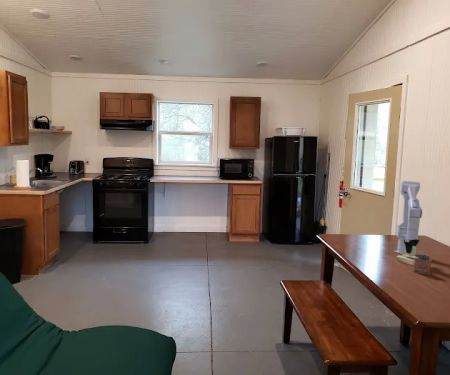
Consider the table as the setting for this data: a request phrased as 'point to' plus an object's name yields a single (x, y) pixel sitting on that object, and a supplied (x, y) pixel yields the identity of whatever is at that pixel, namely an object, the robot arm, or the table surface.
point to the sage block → (411, 251)
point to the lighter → (422, 264)
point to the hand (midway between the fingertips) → (410, 252)
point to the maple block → (406, 259)
